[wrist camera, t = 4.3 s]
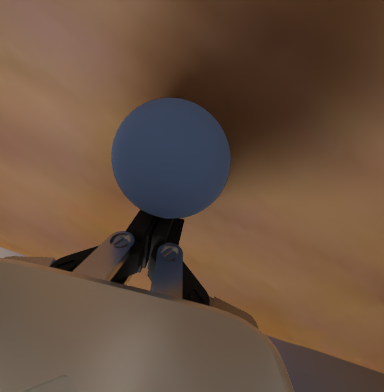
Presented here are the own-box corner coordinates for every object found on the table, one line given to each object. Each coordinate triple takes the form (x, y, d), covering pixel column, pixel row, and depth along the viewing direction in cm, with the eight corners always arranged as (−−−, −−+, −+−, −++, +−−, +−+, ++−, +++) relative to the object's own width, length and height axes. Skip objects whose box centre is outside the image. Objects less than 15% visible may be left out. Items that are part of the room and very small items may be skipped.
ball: (236, 132, 11) (270, 100, 5) (207, 213, 12) (210, 258, 7) (151, 105, 11) (94, 44, 5) (131, 188, 13) (67, 212, 7)
